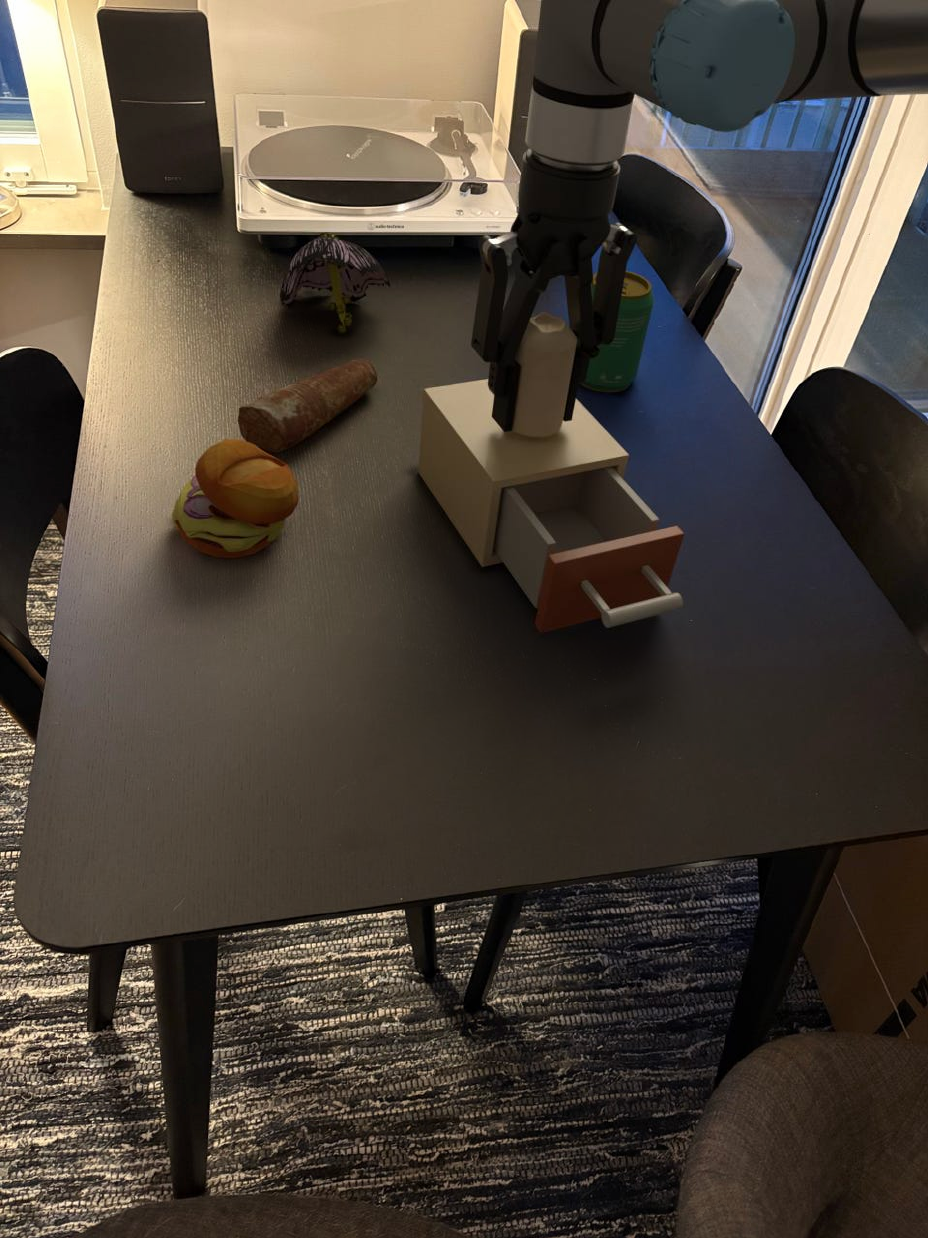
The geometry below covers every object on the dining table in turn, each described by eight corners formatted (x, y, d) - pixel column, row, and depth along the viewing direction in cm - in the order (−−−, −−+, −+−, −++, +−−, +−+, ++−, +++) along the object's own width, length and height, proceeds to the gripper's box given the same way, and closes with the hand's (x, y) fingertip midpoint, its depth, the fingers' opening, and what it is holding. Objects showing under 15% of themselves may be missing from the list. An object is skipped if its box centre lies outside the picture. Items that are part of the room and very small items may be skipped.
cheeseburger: (186, 490, 94) (201, 405, 88) (293, 522, 96) (316, 442, 90) (156, 555, 87) (170, 467, 80) (272, 589, 89) (296, 506, 82)
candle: (505, 436, 87) (519, 333, 80) (500, 404, 91) (512, 303, 84) (566, 438, 88) (584, 336, 81) (557, 406, 92) (574, 306, 85)
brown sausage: (233, 446, 101) (229, 399, 97) (351, 377, 113) (351, 333, 109) (279, 470, 98) (276, 422, 94) (394, 397, 110) (396, 352, 106)
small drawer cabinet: (608, 538, 95) (629, 454, 88) (482, 567, 90) (493, 481, 83) (535, 450, 105) (549, 369, 98) (417, 472, 100) (423, 388, 93)
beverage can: (633, 365, 121) (655, 272, 112) (635, 398, 115) (658, 302, 107) (570, 356, 121) (586, 263, 113) (568, 389, 115) (586, 293, 107)
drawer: (695, 640, 84) (720, 571, 79) (569, 675, 80) (586, 605, 74) (584, 507, 97) (599, 440, 91) (470, 531, 92) (478, 462, 87)
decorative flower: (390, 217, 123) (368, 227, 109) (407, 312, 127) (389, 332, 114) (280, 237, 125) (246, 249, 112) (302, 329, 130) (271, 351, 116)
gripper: (649, 131, 79) (598, 384, 95) (441, 143, 73) (423, 412, 89) (701, 164, 74) (638, 424, 90) (483, 179, 68) (456, 457, 84)
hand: (531, 418), depth 89 cm, fingers closed on candle, 5 cm apart
